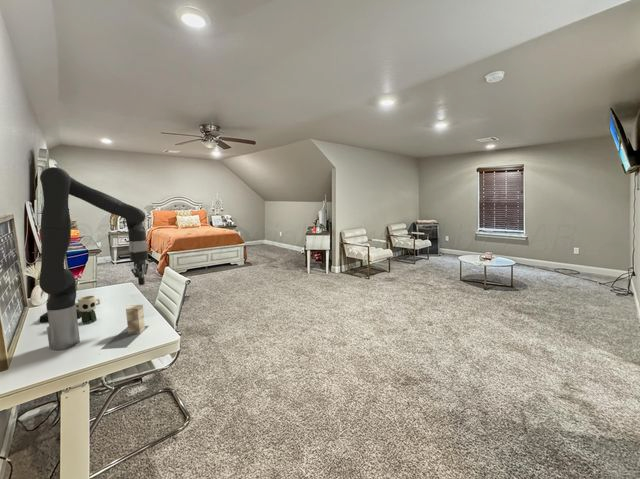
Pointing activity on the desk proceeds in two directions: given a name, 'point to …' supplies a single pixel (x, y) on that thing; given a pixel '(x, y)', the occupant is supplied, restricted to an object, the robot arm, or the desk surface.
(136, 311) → the birch block
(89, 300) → the character mug
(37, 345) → the desk surface
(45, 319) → the portable cd player
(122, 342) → the rubber mat
